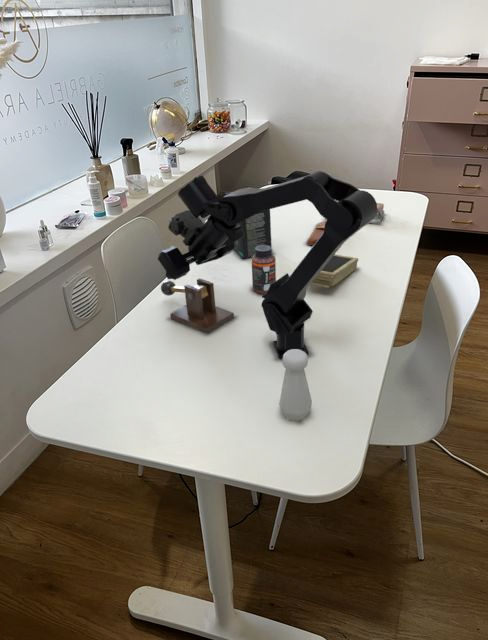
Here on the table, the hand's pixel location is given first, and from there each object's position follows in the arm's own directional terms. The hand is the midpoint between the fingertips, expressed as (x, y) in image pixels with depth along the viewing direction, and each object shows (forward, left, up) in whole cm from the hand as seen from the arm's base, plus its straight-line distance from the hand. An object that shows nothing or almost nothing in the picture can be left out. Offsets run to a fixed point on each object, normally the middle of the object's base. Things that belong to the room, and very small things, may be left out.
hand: (182, 270), depth 129 cm
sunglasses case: (+38, -45, -11) cm, 60 cm away
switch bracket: (-4, -3, -11) cm, 12 cm away
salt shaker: (-43, -16, -11) cm, 47 cm away
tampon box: (+33, -21, -11) cm, 41 cm away
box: (+9, -39, -11) cm, 42 cm away
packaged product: (+51, -59, -11) cm, 79 cm away
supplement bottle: (+7, -20, -11) cm, 24 cm away
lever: (0, 0, -7) cm, 7 cm away
